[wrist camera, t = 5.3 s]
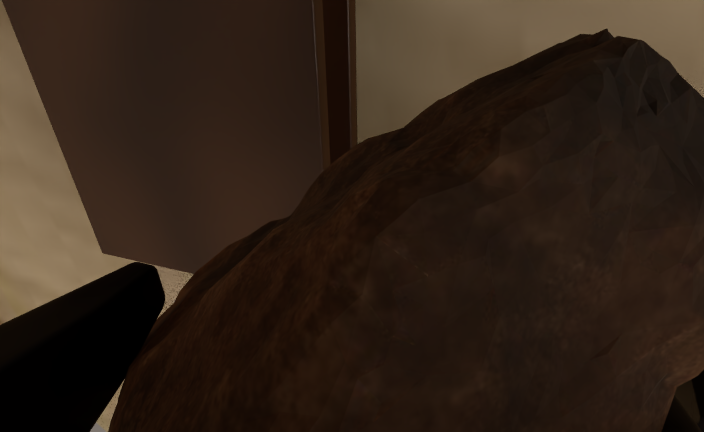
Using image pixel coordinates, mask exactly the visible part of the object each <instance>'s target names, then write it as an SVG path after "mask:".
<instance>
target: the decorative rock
mask: <svg viewBox="0 0 704 432" xmlns="http://www.w3.org/2000/svg"><path fill="white" fill-rule="evenodd" d="M703 370H704V98H703V97H702V96H701V95H700V94H699V93H698V92H697V91H696V90H695V89H694V88H693V87H692V86H691V85H690V84H689V83H688V82H687V81H685V80H684V79H683V78H682V77H681V76H680V75H679V74H678V73H677V71H676V70H675V68H674V67H673V65H672V64H671V63H670V61H668V60H667V59H665V58H663V57H662V56H661V55H660V54H658V53H657V52H656V51H655V50H654V49H652V48H651V47H650V46H649V45H648V44H646V43H645V42H644V41H642V40H638V39H632V38H626V37H621V36H617V37H615V38H614V37H613V36H612V35H611V34H610V33H609V32H608V29H604V30H602V31H600V32H598V33H596V34H593V35H590V34H580V35H577V36H575V37H573V38H571V39H569V40H567V41H565V42H563V43H558V44H556V45H554V46H552V47H550V48H548V49H546V50H544V51H542V52H540V53H538V54H535V55H533V56H531V57H529V58H527V59H525V60H523V61H521V62H519V63H517V64H515V65H513V66H510V67H507V68H505V69H502V70H500V71H497V72H495V73H492V74H489V75H487V76H484V77H482V78H480V79H477V80H475V81H474V82H472V83H470V84H468V85H466V86H465V87H463V88H461V89H459V90H457V91H456V92H454V93H452V94H450V95H448V96H446V97H445V98H442V99H440V100H437V101H436V102H435V103H433V104H432V105H431V106H429V107H428V108H427V109H425V110H424V111H423V112H421V113H420V114H419V115H418V116H417V117H416V118H414V119H413V120H412V121H411V122H410V123H409V124H407V125H406V126H405V127H404V128H401V129H398V130H395V131H392V132H389V133H385V134H382V135H379V136H375V137H372V138H368V139H367V140H365V141H363V142H361V143H360V144H358V145H356V146H355V147H353V148H352V149H351V150H349V151H348V152H346V153H345V154H344V155H342V156H341V157H339V158H338V159H337V160H335V161H334V162H333V163H332V164H331V165H330V166H329V167H327V168H326V169H325V170H324V171H323V172H322V173H321V174H320V175H319V176H318V177H317V179H316V180H315V181H314V182H313V184H312V185H311V186H310V187H309V189H308V190H307V192H306V194H305V195H304V197H303V199H302V200H301V202H300V203H299V205H298V206H297V207H296V209H295V210H294V211H293V213H292V214H291V215H290V216H288V217H286V218H283V219H279V220H274V221H270V222H268V223H267V224H265V225H263V226H262V227H260V228H259V229H257V230H256V231H254V232H253V233H251V234H250V235H248V236H246V237H244V238H242V239H240V240H238V241H236V242H234V243H232V244H230V245H228V246H227V247H226V248H224V249H223V250H222V251H221V252H219V253H218V254H217V255H216V256H215V257H213V258H212V259H211V260H210V261H208V262H207V263H206V264H205V265H204V266H202V267H201V268H200V269H199V270H197V271H196V272H195V274H194V275H193V276H192V277H191V279H190V280H189V281H188V282H187V283H186V285H185V286H184V287H183V288H182V289H181V291H180V292H179V294H178V296H177V298H176V300H175V302H174V304H173V305H171V306H170V307H169V308H168V309H167V310H166V311H165V312H164V313H163V314H162V315H161V316H160V317H159V318H158V319H157V320H156V322H155V324H154V326H153V327H152V329H151V331H150V333H149V335H148V337H147V339H146V341H145V343H144V345H143V346H142V348H141V350H140V352H139V353H138V355H137V356H136V357H135V359H134V360H133V362H132V363H131V364H130V366H129V367H128V371H127V374H126V377H125V380H124V383H123V386H122V389H121V392H120V395H119V398H118V403H117V406H116V408H115V411H114V414H113V417H112V419H111V423H110V427H109V431H108V432H662V429H663V426H664V423H665V420H666V418H667V415H668V412H669V409H670V406H671V403H672V400H673V397H674V394H675V392H676V389H677V387H678V386H680V385H682V384H683V383H685V382H687V381H689V380H691V379H693V378H695V377H696V376H698V375H699V374H700V373H701V372H702V371H703Z"/></svg>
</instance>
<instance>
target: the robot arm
mask: <svg viewBox="0 0 704 432" xmlns="http://www.w3.org/2000/svg"><path fill="white" fill-rule="evenodd" d="M164 303H165V293H164V290H163V287H162V283H161V280H160V277H159V274H158V271H157V269H156V268H155V267H154V266H152V265H148V264H144V263H140V262H134V263H131V264H128V265H126V266H124V267H122V268H120V269H118V270H116V271H114V272H112V273H109V274H107V275H105V276H103V277H101V278H99V279H97V280H95V281H92V282H90V283H88V284H86V285H84V286H82V287H80V288H78V289H76V290H73V291H71V292H69V293H67V294H65V295H63V296H61V297H59V298H56V299H54V300H52V301H50V302H48V303H46V304H44V305H42V306H39V307H37V308H35V309H33V310H31V311H29V312H27V313H25V314H23V315H20V316H18V317H16V318H14V319H12V320H10V321H8V322H6V323H3V324H1V325H0V432H90V430H91V429H92V427H93V426H94V424H95V423H96V421H97V420H98V418H99V417H100V415H101V414H102V412H103V411H104V409H105V408H106V406H107V405H108V403H109V402H110V400H111V399H112V397H113V396H114V394H115V393H116V391H117V390H118V388H119V387H120V385H121V384H122V382H123V380H124V379H125V377H126V374H127V371H128V367H129V366H130V364H131V363H132V362H133V360H134V359H135V357H136V356H137V355H138V353H139V352H140V350H141V348H142V346H143V345H144V343H145V341H146V339H147V337H148V335H149V333H150V331H151V329H152V327H153V326H154V324H155V322H156V320H157V318H158V316H159V314H160V312H161V310H162V308H163V306H164ZM662 432H704V370H703V371H702V372H701V373H700V374H699V375H698V376H696V377H695V378H693V379H691V380H689V381H687V382H685V383H683V384H682V385H680V386H678V387H677V389H676V392H675V394H674V397H673V400H672V403H671V406H670V409H669V412H668V415H667V418H666V420H665V423H664V426H663V429H662Z"/></svg>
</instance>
